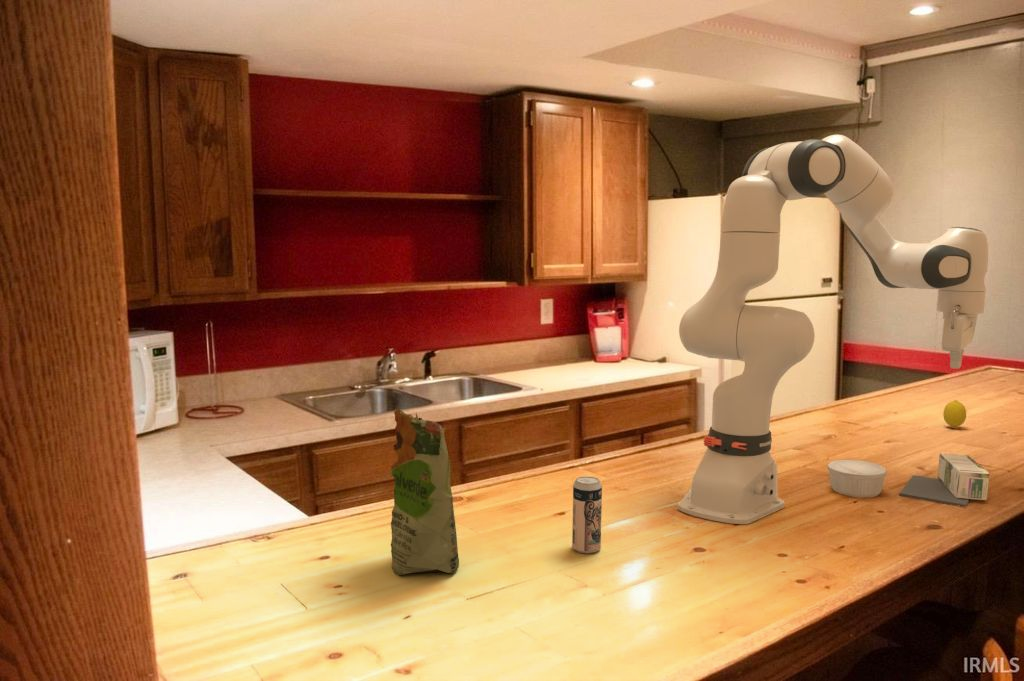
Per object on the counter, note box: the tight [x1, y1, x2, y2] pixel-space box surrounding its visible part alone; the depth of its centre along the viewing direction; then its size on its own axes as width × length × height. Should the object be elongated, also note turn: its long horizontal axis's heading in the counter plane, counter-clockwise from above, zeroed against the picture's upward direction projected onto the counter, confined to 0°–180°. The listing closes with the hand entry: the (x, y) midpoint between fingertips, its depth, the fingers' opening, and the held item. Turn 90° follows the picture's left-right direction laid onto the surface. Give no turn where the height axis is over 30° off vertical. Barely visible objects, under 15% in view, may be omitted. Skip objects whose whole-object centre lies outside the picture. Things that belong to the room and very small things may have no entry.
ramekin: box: [827, 459, 888, 498], centre depth 166 cm, size 11×11×5 cm
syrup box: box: [937, 452, 991, 501], centre depth 166 cm, size 6×6×14 cm
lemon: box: [943, 399, 967, 429], centre depth 222 cm, size 6×6×8 cm
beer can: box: [571, 475, 603, 555], centre depth 133 cm, size 5×5×12 cm
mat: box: [898, 474, 970, 507], centre depth 167 cm, size 16×12×1 cm
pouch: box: [390, 407, 460, 576], centre depth 124 cm, size 11×12×25 cm
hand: (955, 367), depth 173 cm, fingers closed
